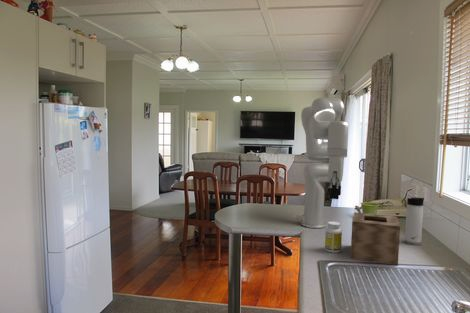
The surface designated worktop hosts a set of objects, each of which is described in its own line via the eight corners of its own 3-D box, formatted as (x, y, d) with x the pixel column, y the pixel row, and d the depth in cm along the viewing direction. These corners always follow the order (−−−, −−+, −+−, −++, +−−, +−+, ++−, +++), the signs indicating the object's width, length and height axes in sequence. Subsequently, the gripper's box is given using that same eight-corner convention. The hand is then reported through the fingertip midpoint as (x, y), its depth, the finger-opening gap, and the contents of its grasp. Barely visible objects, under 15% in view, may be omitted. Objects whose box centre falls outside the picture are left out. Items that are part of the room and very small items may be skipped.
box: (350, 258, 129) (352, 221, 128) (352, 245, 144) (354, 212, 143) (397, 265, 124) (400, 226, 123) (395, 251, 139) (397, 216, 138)
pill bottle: (341, 248, 140) (342, 221, 139) (340, 253, 134) (342, 225, 133) (325, 247, 142) (326, 220, 141) (324, 251, 136) (325, 224, 135)
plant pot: (372, 222, 183) (373, 206, 183) (356, 218, 191) (357, 203, 190) (381, 220, 189) (382, 204, 189) (365, 216, 197) (366, 201, 196)
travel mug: (415, 246, 146) (418, 198, 144) (401, 241, 152) (404, 196, 150) (425, 244, 149) (427, 197, 147) (411, 239, 154) (413, 195, 153)
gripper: (329, 152, 145) (328, 192, 146) (324, 153, 129) (322, 199, 130) (348, 152, 142) (346, 194, 143) (345, 154, 126) (343, 201, 127)
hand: (335, 196), depth 136 cm, fingers open, 9 cm apart
